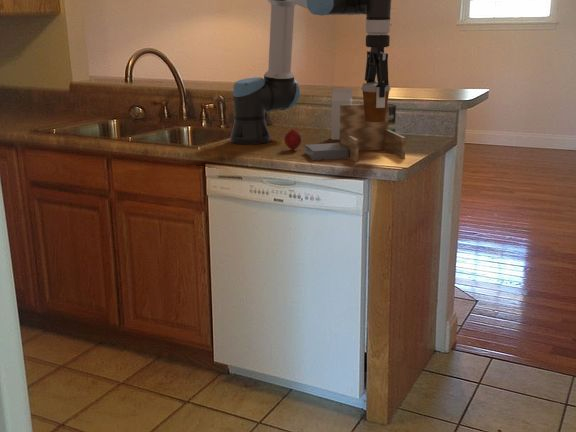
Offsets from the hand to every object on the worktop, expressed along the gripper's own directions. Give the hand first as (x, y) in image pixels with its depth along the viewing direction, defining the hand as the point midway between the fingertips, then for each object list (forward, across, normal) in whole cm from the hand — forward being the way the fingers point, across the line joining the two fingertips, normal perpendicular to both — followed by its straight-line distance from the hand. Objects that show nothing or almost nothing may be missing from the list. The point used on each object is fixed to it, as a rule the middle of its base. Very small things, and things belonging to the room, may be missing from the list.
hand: (375, 105), depth 215 cm
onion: (+18, +18, +24) cm, 35 cm away
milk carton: (+18, +36, +1) cm, 41 cm away
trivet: (+17, +6, +15) cm, 23 cm away
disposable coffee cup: (+5, 0, 0) cm, 5 cm away
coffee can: (+18, +22, -10) cm, 30 cm away
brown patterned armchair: (+17, +4, 0) cm, 17 cm away
